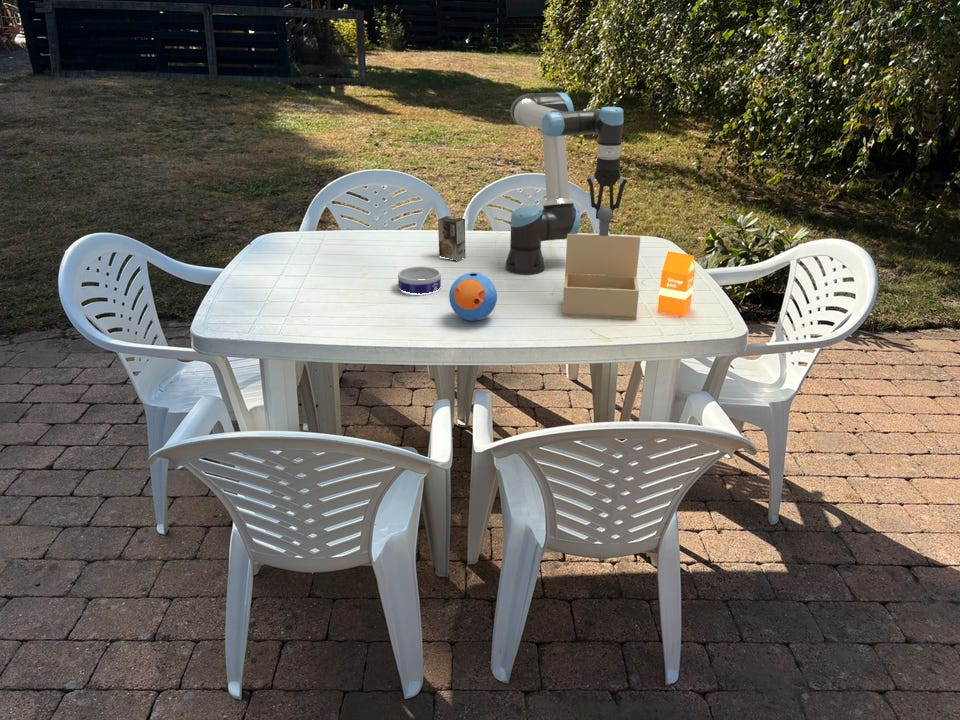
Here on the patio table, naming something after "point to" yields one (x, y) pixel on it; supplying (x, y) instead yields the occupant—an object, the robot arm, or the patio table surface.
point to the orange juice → (676, 284)
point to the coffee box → (451, 237)
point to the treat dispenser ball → (473, 296)
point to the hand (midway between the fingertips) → (603, 228)
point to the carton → (600, 296)
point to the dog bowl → (413, 285)
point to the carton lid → (602, 251)
